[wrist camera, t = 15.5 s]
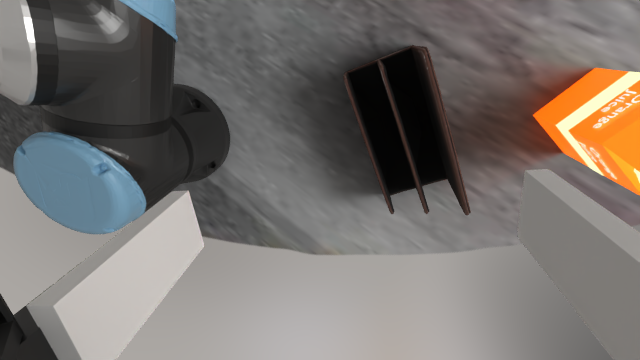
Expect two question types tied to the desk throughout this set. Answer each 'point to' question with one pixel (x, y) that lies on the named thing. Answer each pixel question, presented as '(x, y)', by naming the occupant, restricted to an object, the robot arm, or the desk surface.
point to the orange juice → (599, 124)
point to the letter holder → (405, 124)
